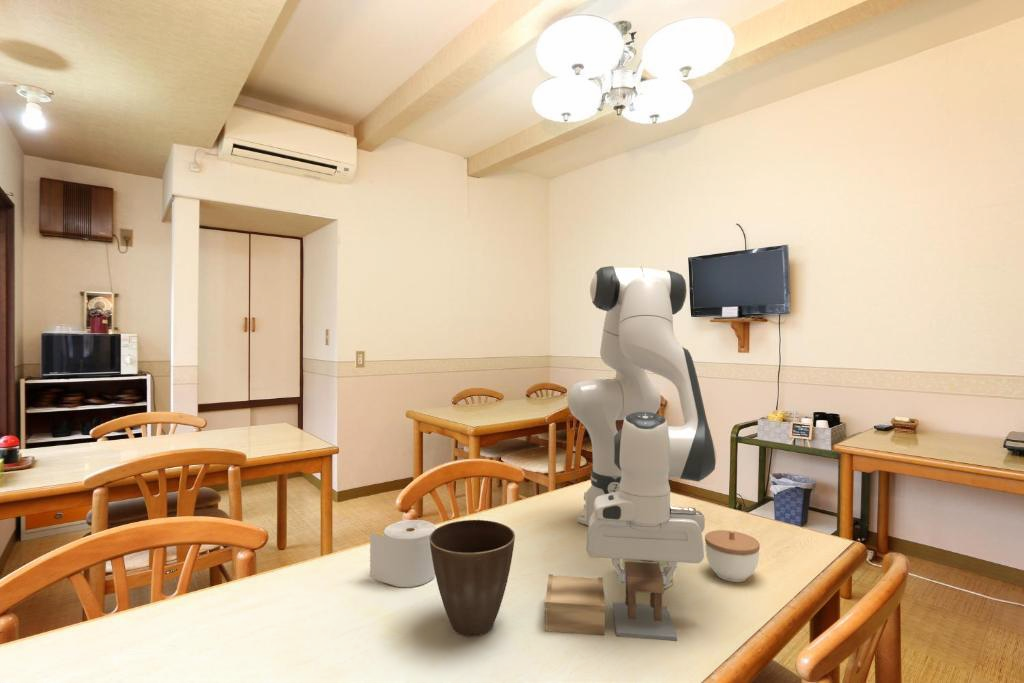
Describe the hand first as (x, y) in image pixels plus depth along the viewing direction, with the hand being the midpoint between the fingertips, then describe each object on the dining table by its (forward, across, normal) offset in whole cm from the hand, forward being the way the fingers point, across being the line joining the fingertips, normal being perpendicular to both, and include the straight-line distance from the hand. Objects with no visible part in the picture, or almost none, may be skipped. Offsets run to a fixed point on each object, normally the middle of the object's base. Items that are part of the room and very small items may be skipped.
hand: (643, 582), depth 94 cm
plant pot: (+7, +30, +5) cm, 31 cm away
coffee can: (+7, -3, -17) cm, 19 cm away
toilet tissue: (+7, +47, -11) cm, 49 cm away
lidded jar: (+7, -21, -21) cm, 31 cm away
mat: (+7, 0, 0) cm, 7 cm away
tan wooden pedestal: (+7, +12, 0) cm, 14 cm away
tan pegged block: (+5, 0, 0) cm, 5 cm away
